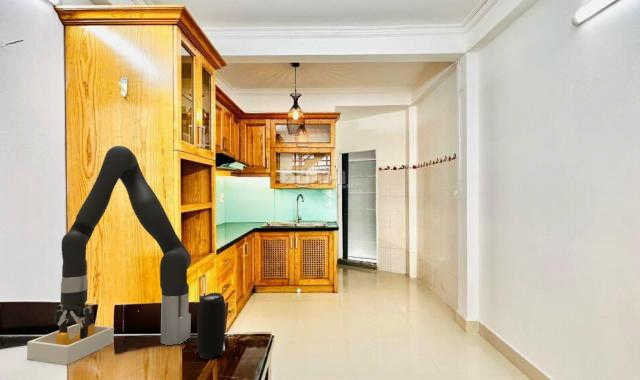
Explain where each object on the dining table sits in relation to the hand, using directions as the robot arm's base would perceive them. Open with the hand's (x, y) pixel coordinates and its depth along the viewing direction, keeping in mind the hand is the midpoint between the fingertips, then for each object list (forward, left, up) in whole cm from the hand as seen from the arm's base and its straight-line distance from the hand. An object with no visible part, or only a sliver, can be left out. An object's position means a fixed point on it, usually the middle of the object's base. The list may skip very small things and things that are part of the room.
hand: (73, 337), depth 121 cm
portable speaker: (-47, -9, -5) cm, 48 cm away
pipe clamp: (0, 0, -4) cm, 4 cm away
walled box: (0, 0, -5) cm, 5 cm away
